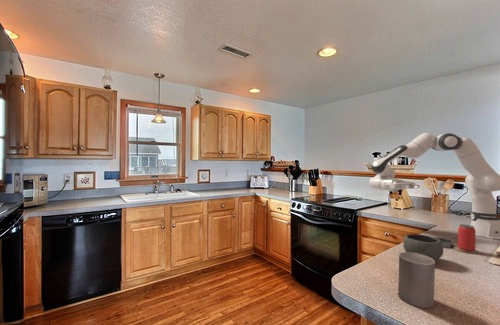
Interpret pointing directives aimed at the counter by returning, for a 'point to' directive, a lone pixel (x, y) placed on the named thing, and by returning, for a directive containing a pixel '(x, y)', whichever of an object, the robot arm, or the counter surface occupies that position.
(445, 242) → the can collar
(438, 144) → the robot arm
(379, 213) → the counter surface
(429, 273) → the pillar candle
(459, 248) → the walnut coaster
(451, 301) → the counter surface
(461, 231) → the beer can
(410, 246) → the bowl
